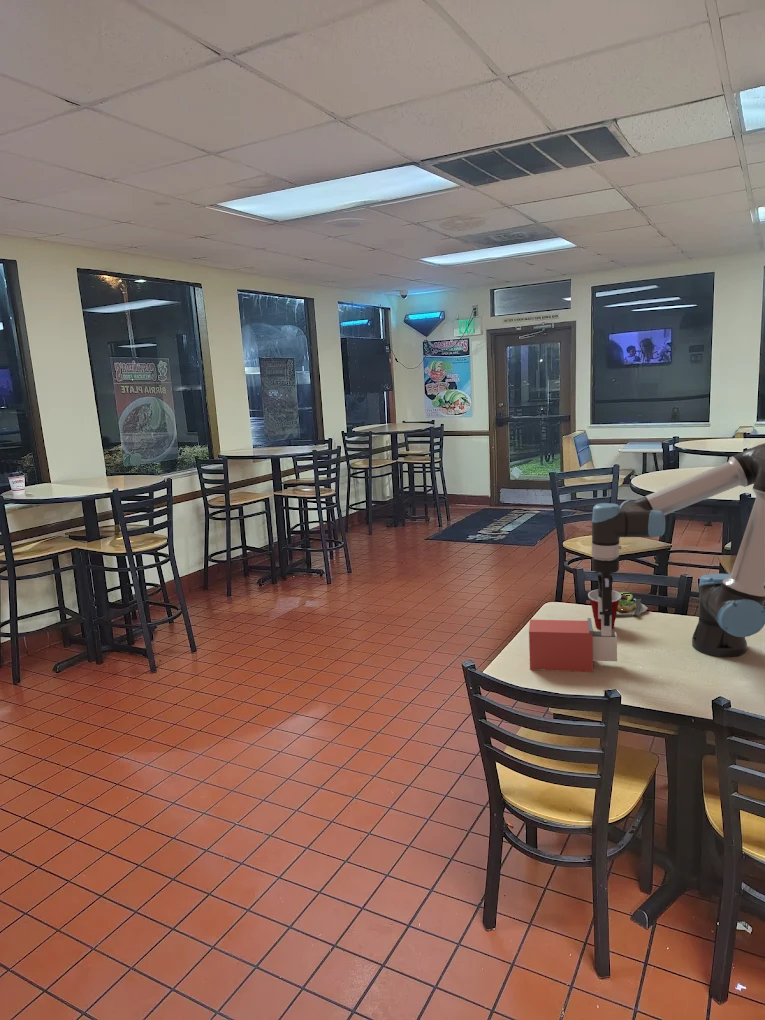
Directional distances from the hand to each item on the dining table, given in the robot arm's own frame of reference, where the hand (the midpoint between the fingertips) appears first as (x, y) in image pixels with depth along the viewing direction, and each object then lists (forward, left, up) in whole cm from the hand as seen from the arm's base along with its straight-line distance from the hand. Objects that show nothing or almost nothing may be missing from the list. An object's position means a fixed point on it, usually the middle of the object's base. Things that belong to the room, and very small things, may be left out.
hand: (604, 626), depth 198 cm
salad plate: (+29, -42, -13) cm, 53 cm away
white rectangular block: (+4, +4, -10) cm, 12 cm away
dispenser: (+9, +9, -12) cm, 17 cm away
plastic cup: (+20, -23, -12) cm, 33 cm away
